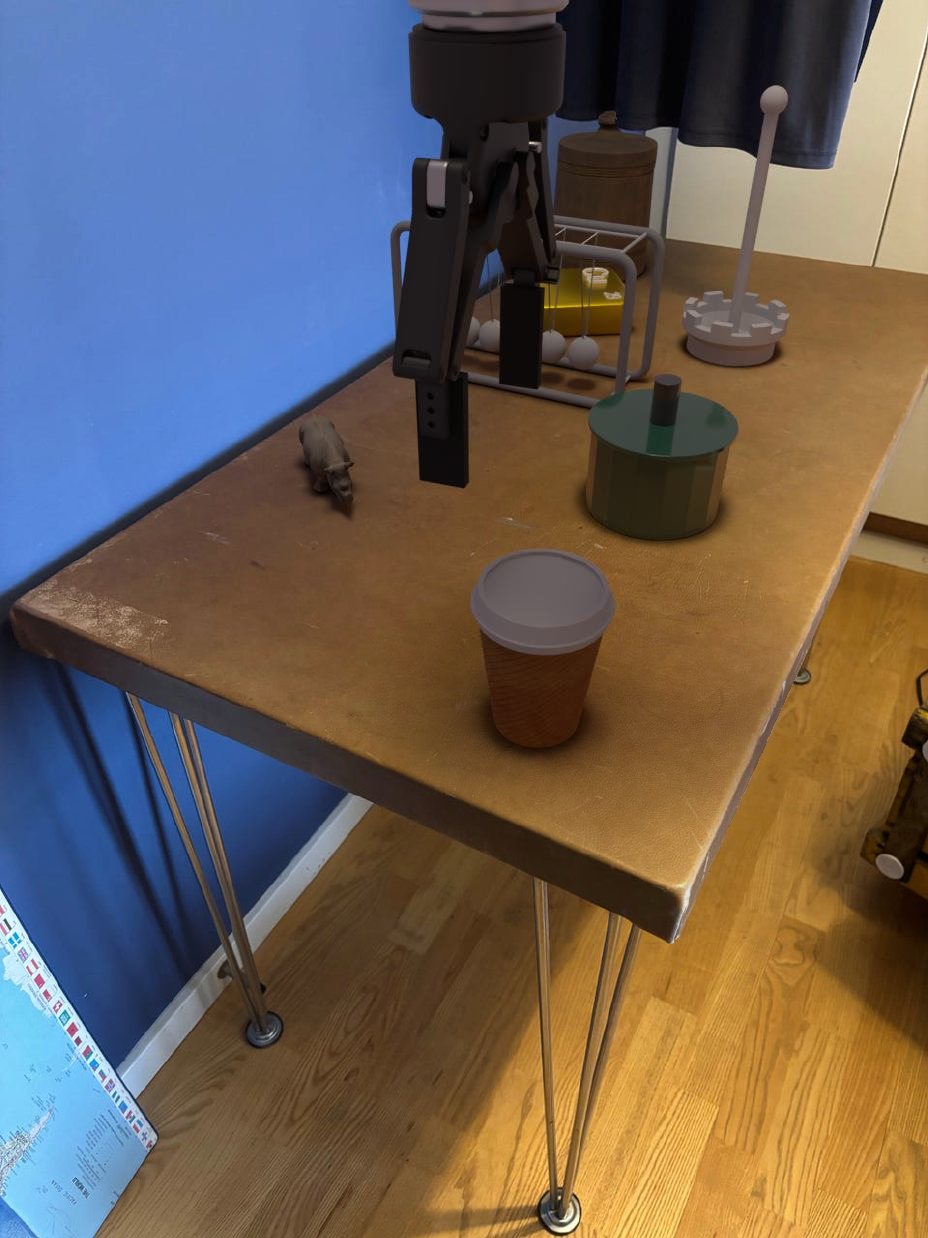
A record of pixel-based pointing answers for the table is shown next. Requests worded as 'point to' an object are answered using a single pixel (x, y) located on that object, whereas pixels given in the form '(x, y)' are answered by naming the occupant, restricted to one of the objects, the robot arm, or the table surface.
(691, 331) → the flag stand
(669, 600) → the table surface
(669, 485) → the pot
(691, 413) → the pot lid
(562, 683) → the disposable coffee cup
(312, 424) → the rhino figurine
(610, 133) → the wooden container
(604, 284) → the element tile
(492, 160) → the robot arm
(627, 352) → the newton's cradle
